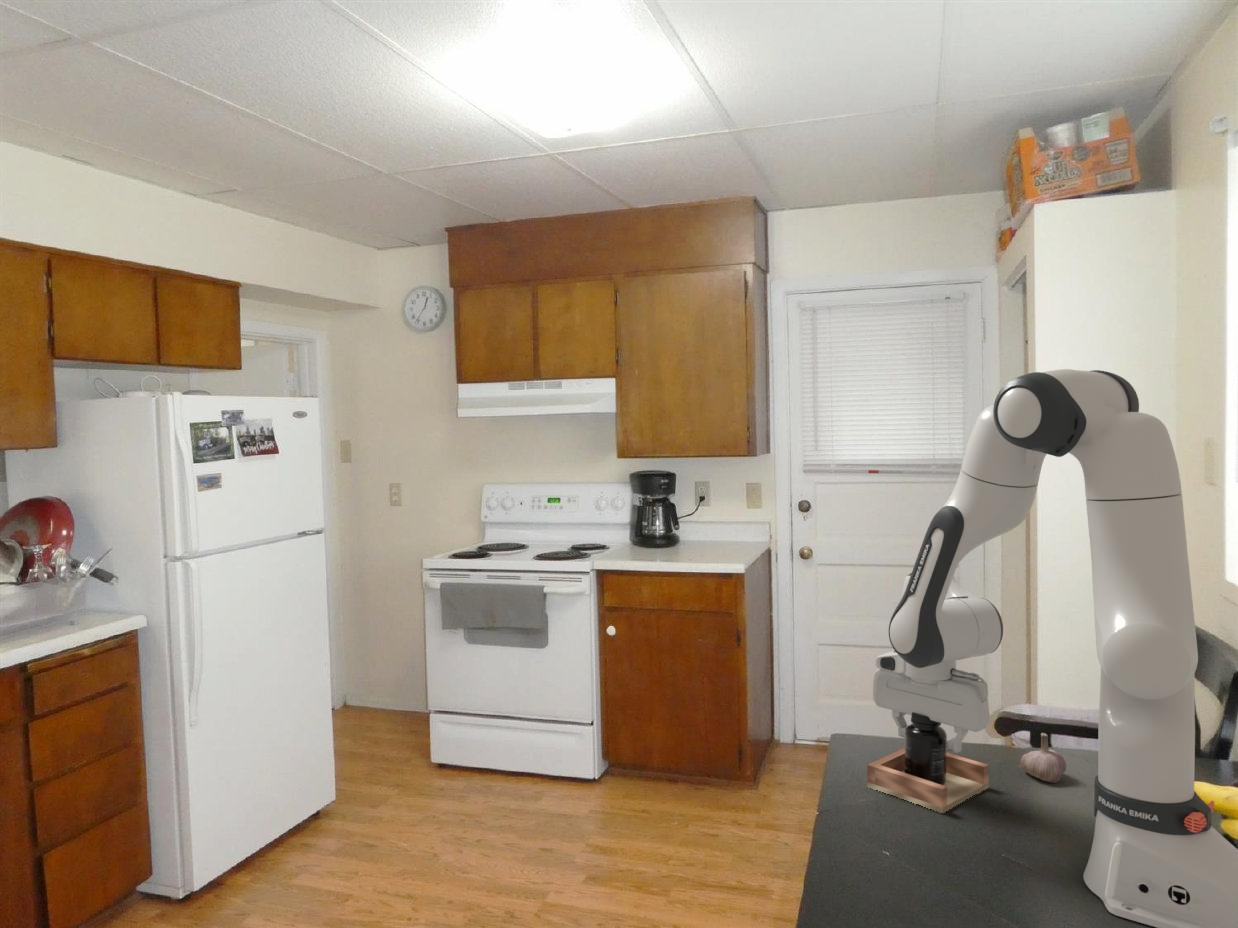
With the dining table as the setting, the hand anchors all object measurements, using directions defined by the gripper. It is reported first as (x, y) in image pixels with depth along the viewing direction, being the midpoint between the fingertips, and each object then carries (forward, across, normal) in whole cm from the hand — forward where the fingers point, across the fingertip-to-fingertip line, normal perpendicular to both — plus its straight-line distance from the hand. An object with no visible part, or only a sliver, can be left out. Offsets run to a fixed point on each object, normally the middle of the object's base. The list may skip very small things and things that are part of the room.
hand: (929, 743), depth 153 cm
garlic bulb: (+8, -11, -19) cm, 23 cm away
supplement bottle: (+7, +1, 0) cm, 7 cm away
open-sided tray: (+8, 0, 0) cm, 8 cm away
